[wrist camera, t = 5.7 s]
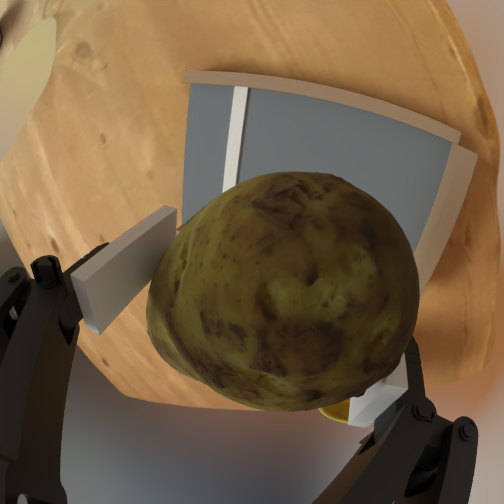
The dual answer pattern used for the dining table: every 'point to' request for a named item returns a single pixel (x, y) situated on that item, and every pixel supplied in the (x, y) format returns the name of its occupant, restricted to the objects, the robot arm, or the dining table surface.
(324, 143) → the lane
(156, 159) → the dining table surface
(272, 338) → the potato
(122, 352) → the dining table surface
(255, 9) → the dining table surface
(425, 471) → the robot arm
